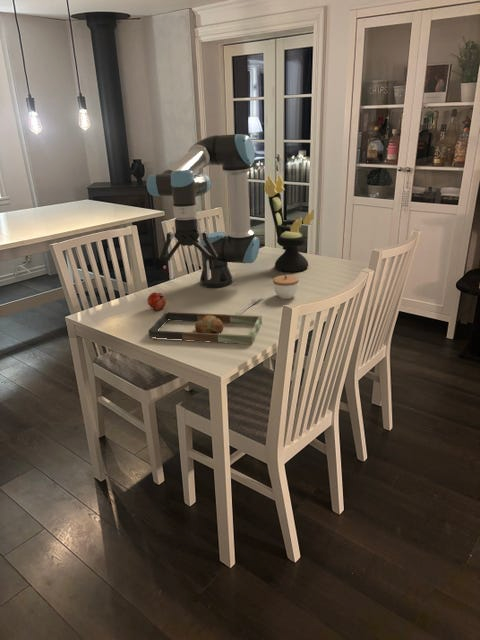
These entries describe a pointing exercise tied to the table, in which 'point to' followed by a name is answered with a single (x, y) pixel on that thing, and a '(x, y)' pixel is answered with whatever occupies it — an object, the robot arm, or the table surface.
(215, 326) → the bread roll
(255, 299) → the fork
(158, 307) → the pomegranate
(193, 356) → the table surface
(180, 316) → the multicolored rectangular frame
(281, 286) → the lidded jar
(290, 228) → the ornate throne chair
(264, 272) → the table surface
